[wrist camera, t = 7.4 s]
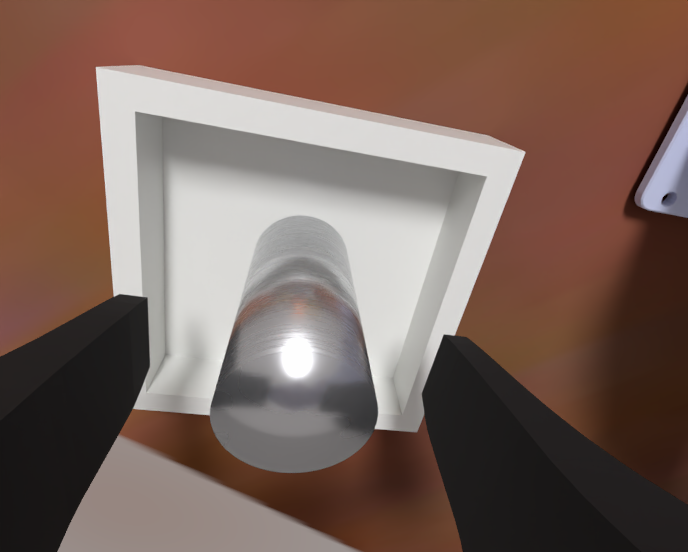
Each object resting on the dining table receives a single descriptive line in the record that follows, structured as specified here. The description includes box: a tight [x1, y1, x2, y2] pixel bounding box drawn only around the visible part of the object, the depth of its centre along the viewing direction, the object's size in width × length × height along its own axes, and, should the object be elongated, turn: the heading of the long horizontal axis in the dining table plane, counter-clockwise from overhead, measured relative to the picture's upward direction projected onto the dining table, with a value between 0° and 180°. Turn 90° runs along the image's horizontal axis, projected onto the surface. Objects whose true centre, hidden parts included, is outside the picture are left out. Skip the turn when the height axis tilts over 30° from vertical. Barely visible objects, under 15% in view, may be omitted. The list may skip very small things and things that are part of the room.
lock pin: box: [210, 215, 378, 473], centre depth 11 cm, size 3×3×7 cm
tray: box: [96, 65, 525, 432], centre depth 13 cm, size 11×11×3 cm
